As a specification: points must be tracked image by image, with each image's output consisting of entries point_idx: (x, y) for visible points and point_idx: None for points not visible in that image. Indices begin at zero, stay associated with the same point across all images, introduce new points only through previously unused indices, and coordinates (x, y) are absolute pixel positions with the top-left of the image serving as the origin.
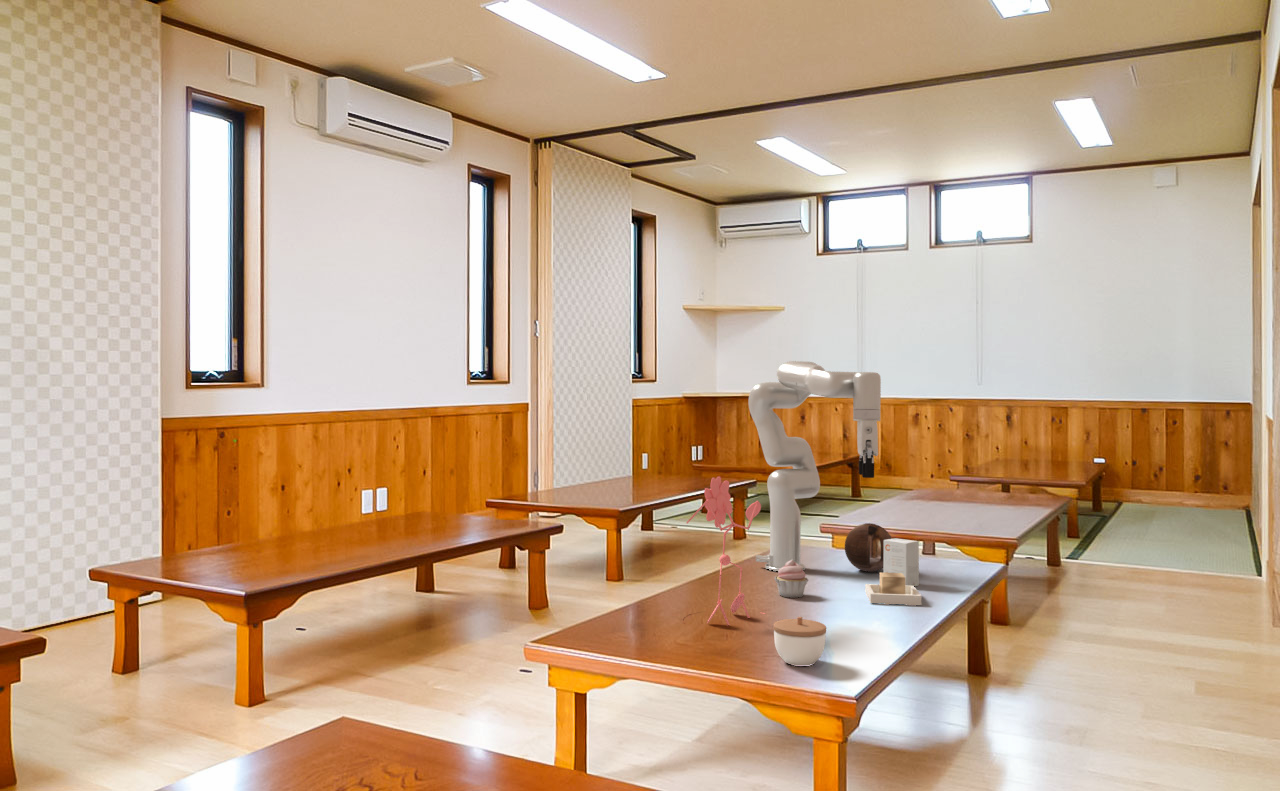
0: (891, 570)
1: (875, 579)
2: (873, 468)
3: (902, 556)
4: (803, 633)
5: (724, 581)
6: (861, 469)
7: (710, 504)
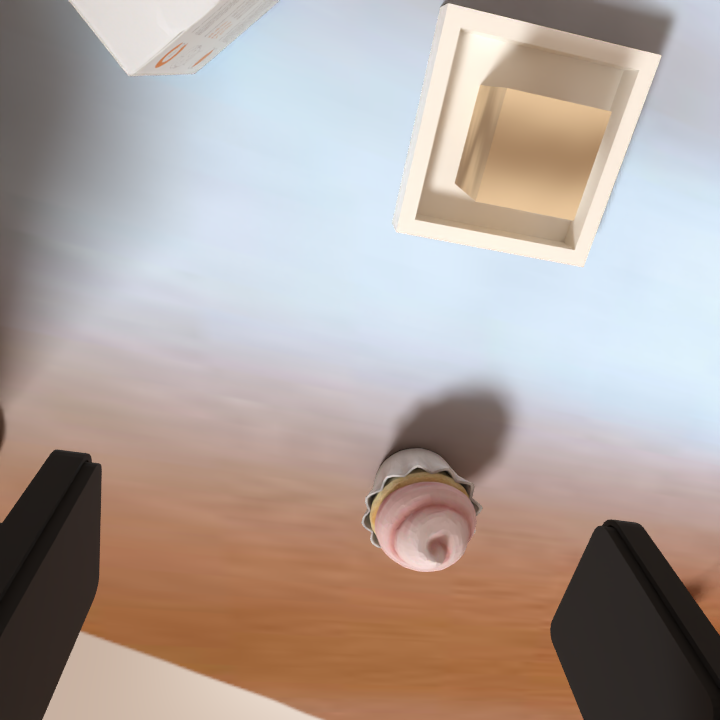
0: (217, 41)
1: (75, 76)
2: (711, 639)
3: None
4: None
5: (194, 619)
6: (68, 628)
7: None
